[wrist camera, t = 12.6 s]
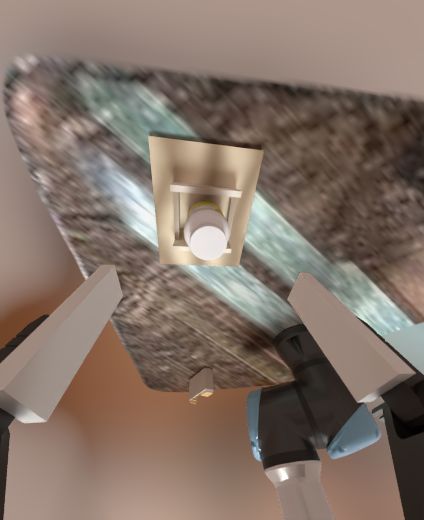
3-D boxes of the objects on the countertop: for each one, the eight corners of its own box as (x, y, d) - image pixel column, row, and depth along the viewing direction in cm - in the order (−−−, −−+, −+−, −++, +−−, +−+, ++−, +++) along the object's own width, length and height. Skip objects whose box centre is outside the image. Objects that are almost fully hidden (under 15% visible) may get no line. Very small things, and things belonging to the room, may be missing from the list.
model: (212, 367, 57) (213, 393, 51) (196, 379, 61) (196, 405, 55) (205, 366, 56) (205, 392, 49) (189, 378, 60) (188, 403, 54)
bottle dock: (261, 151, 23) (275, 147, 18) (237, 263, 33) (243, 278, 29) (150, 137, 21) (137, 129, 17) (161, 260, 31) (155, 275, 27)
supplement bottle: (220, 233, 28) (232, 267, 18) (188, 233, 27) (183, 268, 18) (222, 199, 25) (238, 217, 15) (186, 198, 24) (178, 217, 15)
